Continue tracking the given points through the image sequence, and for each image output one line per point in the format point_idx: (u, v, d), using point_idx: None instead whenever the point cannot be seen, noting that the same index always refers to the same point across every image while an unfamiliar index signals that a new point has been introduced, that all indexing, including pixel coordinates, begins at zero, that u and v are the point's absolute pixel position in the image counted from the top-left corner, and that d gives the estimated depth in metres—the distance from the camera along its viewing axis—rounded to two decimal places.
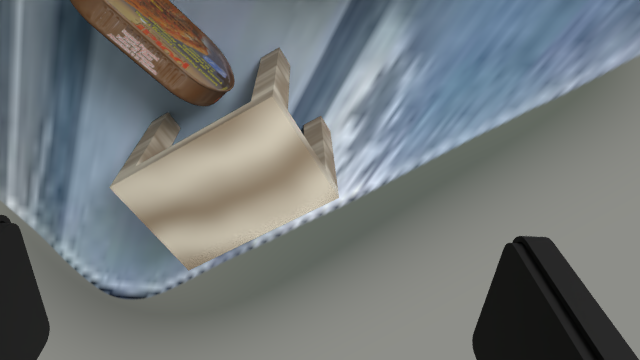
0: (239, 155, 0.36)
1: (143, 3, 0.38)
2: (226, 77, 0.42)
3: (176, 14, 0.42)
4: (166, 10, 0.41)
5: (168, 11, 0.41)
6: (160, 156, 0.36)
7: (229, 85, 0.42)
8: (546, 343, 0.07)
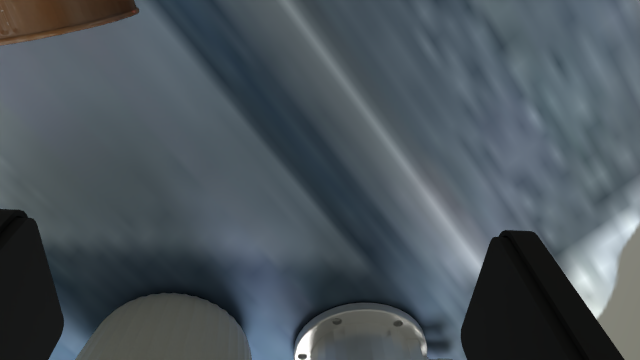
0: None
1: None
2: None
3: None
4: None
5: None
6: None
7: None
8: (529, 334, 0.08)
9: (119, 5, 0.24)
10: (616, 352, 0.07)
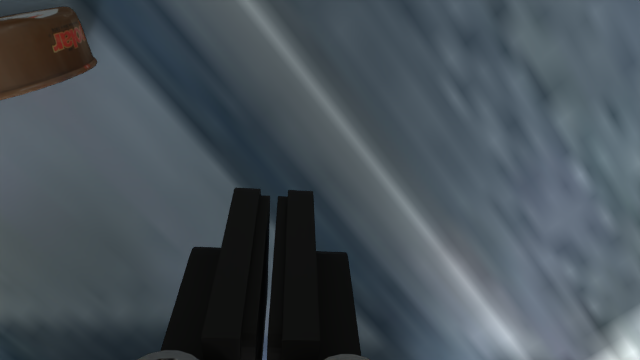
0: None
1: None
2: None
3: None
4: None
5: None
6: None
7: None
8: None
9: (66, 60, 0.18)
10: (314, 287, 0.07)
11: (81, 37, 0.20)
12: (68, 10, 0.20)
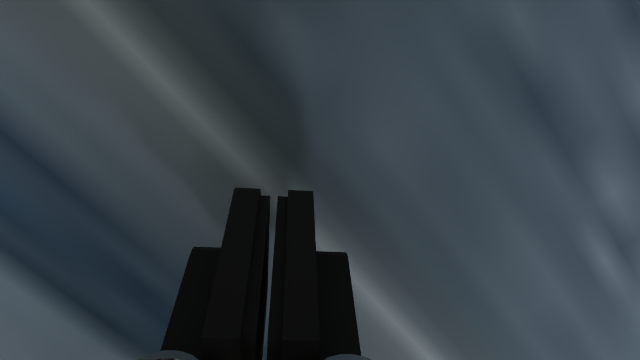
0: None
1: None
2: None
3: None
4: None
5: None
6: None
7: None
8: None
9: None
10: (314, 287, 0.07)
11: None
12: None
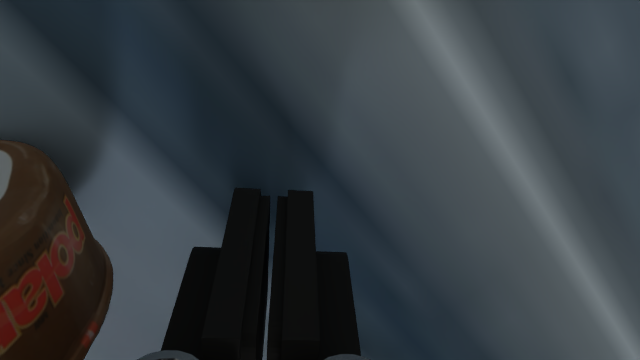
0: None
1: None
2: None
3: None
4: None
5: None
6: None
7: None
8: None
9: None
10: (314, 288, 0.07)
11: (73, 251, 0.07)
12: (36, 179, 0.07)
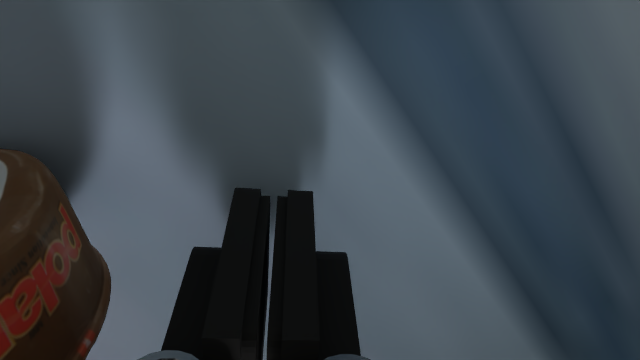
0: None
1: None
2: None
3: None
4: None
5: None
6: None
7: None
8: None
9: None
10: (314, 287, 0.07)
11: (68, 258, 0.07)
12: (31, 187, 0.07)
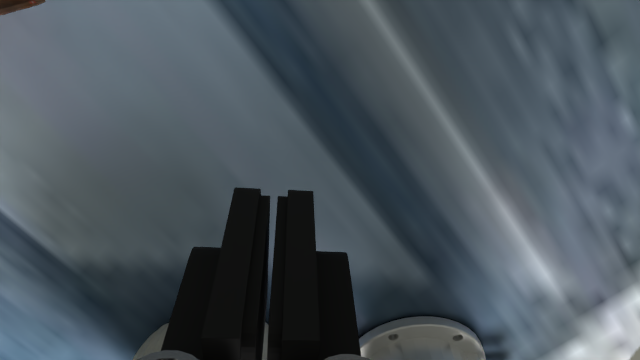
0: None
1: None
2: None
3: None
4: None
5: None
6: None
7: None
8: None
9: None
10: (314, 287, 0.07)
11: None
12: None
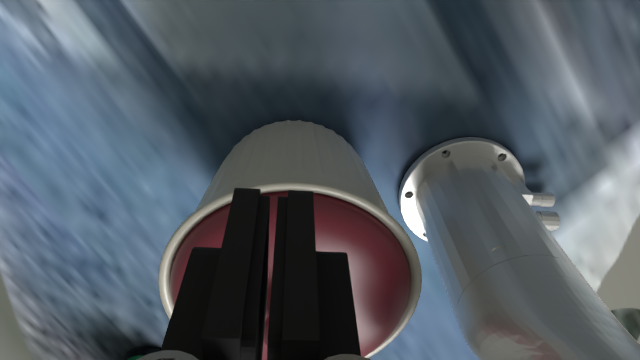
0: None
1: None
2: None
3: None
4: None
5: None
6: None
7: None
8: None
9: None
10: (314, 287, 0.07)
11: None
12: None
